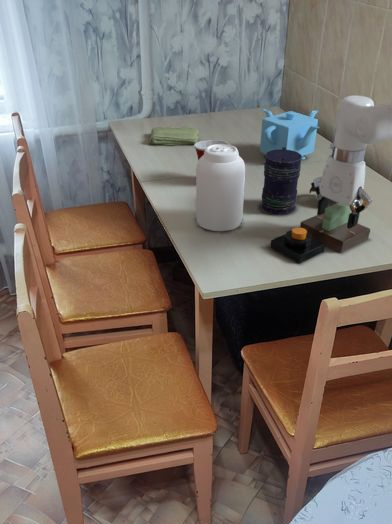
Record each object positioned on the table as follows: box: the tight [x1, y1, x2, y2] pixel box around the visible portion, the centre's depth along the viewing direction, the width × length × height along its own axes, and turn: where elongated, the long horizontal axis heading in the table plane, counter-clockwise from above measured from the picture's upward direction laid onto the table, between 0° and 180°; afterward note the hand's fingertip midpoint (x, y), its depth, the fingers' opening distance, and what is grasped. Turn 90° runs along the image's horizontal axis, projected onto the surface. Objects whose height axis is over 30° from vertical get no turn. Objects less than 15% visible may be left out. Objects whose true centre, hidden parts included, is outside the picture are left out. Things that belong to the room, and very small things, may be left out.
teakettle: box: [259, 108, 321, 160], centre depth 181 cm, size 19×19×15 cm
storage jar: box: [260, 147, 302, 216], centre depth 149 cm, size 10×10×18 cm
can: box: [195, 144, 246, 232], centre depth 142 cm, size 12×12×20 cm
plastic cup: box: [193, 139, 231, 162], centre depth 165 cm, size 11×11×12 cm
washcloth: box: [149, 126, 200, 146], centre depth 198 cm, size 13×18×3 cm
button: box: [291, 226, 307, 240], centre depth 134 cm, size 4×4×2 cm
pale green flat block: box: [322, 203, 351, 231], centre depth 138 cm, size 8×2×6 cm, turn 130°
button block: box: [269, 229, 326, 264], centre depth 135 cm, size 10×9×4 cm
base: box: [299, 213, 371, 253], centre depth 141 cm, size 14×12×3 cm
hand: (336, 220), depth 139 cm, fingers open, 9 cm apart
